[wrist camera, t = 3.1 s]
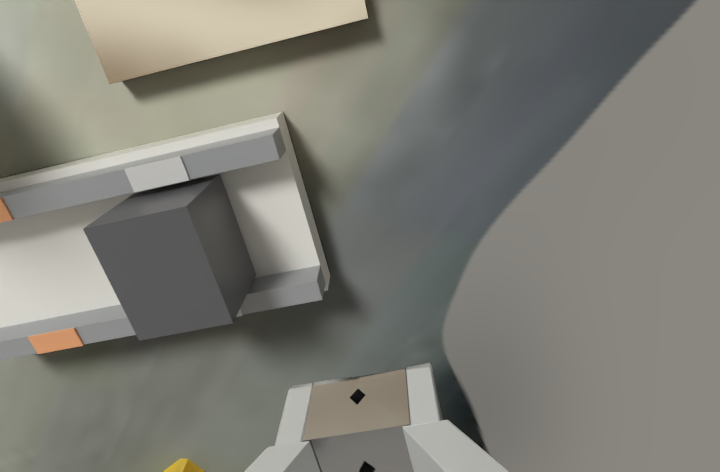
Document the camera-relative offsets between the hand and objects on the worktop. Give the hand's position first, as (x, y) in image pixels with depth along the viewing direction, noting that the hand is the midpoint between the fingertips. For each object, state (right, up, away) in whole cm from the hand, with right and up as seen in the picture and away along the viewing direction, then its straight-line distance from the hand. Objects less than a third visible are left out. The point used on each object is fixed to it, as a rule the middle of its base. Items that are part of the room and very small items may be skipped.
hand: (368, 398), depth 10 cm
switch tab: (-8, +3, +11) cm, 14 cm away
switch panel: (-11, +3, +14) cm, 18 cm away
